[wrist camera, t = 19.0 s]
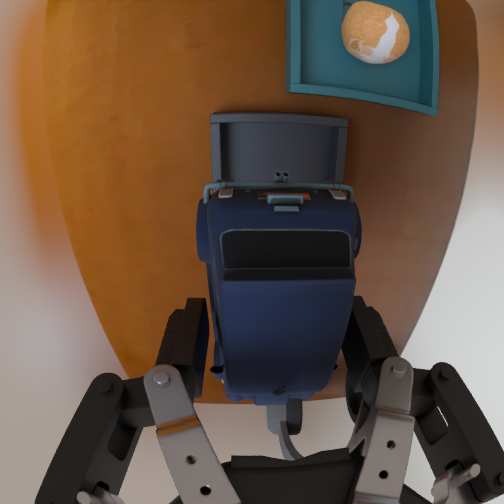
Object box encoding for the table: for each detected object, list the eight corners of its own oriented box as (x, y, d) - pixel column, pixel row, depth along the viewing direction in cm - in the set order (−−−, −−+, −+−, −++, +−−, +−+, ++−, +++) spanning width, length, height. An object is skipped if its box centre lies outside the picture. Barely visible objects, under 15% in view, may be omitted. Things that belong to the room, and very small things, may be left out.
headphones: (265, 392, 47) (269, 494, 29) (264, 356, 41) (271, 482, 24) (364, 381, 46) (390, 474, 29) (380, 344, 41) (419, 452, 24)
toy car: (219, 365, 16) (213, 447, 12) (200, 164, 10) (158, 229, 6) (314, 363, 17) (329, 442, 12) (352, 167, 10) (426, 231, 6)
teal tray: (284, -36, 15) (288, -49, 13) (419, -4, 15) (434, -10, 13) (285, 92, 23) (290, 92, 20) (420, 112, 23) (437, 116, 20)
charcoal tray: (214, 112, 24) (210, 114, 21) (337, 116, 24) (348, 119, 21) (221, 271, 33) (219, 288, 30) (320, 270, 33) (326, 286, 30)
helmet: (327, 18, 20) (334, 68, 19) (346, -28, 13) (361, 14, 13) (379, 34, 21) (393, 85, 20) (404, -6, 14) (430, 42, 13)
